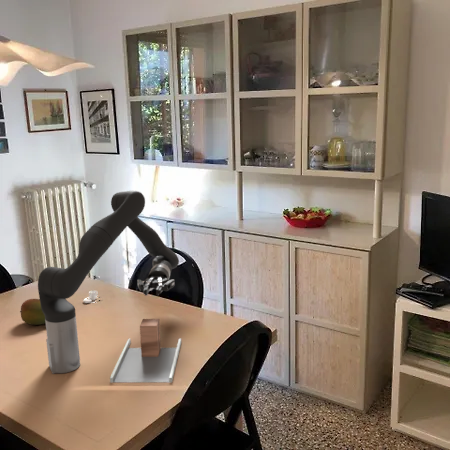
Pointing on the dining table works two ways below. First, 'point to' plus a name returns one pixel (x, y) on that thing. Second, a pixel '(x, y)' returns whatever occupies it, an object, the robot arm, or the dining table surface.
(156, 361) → the track
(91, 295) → the teacup and saucer
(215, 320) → the dining table surface
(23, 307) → the fruit
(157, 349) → the terracotta block
